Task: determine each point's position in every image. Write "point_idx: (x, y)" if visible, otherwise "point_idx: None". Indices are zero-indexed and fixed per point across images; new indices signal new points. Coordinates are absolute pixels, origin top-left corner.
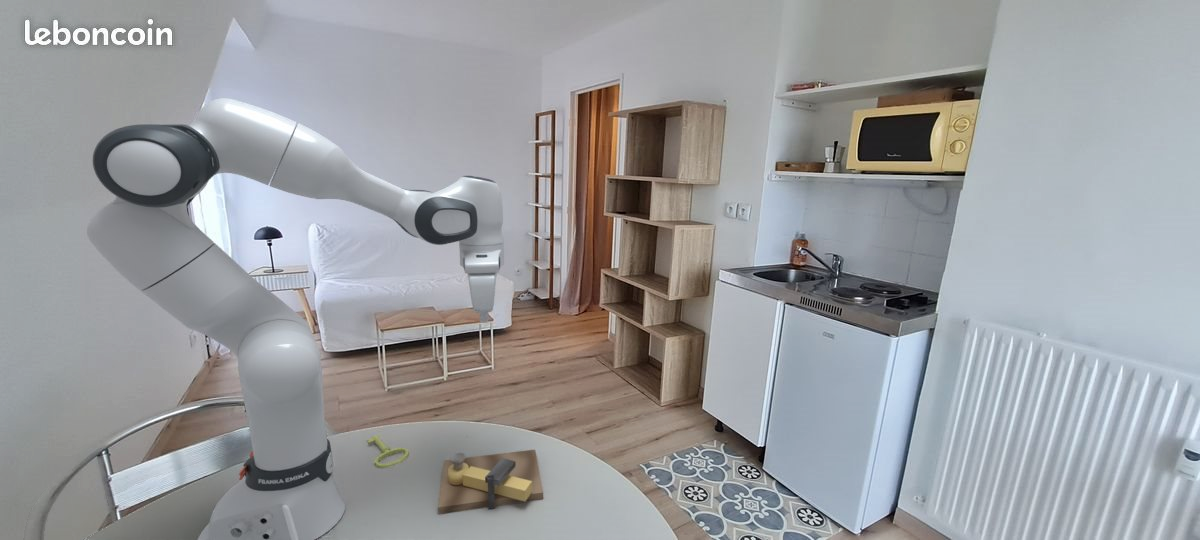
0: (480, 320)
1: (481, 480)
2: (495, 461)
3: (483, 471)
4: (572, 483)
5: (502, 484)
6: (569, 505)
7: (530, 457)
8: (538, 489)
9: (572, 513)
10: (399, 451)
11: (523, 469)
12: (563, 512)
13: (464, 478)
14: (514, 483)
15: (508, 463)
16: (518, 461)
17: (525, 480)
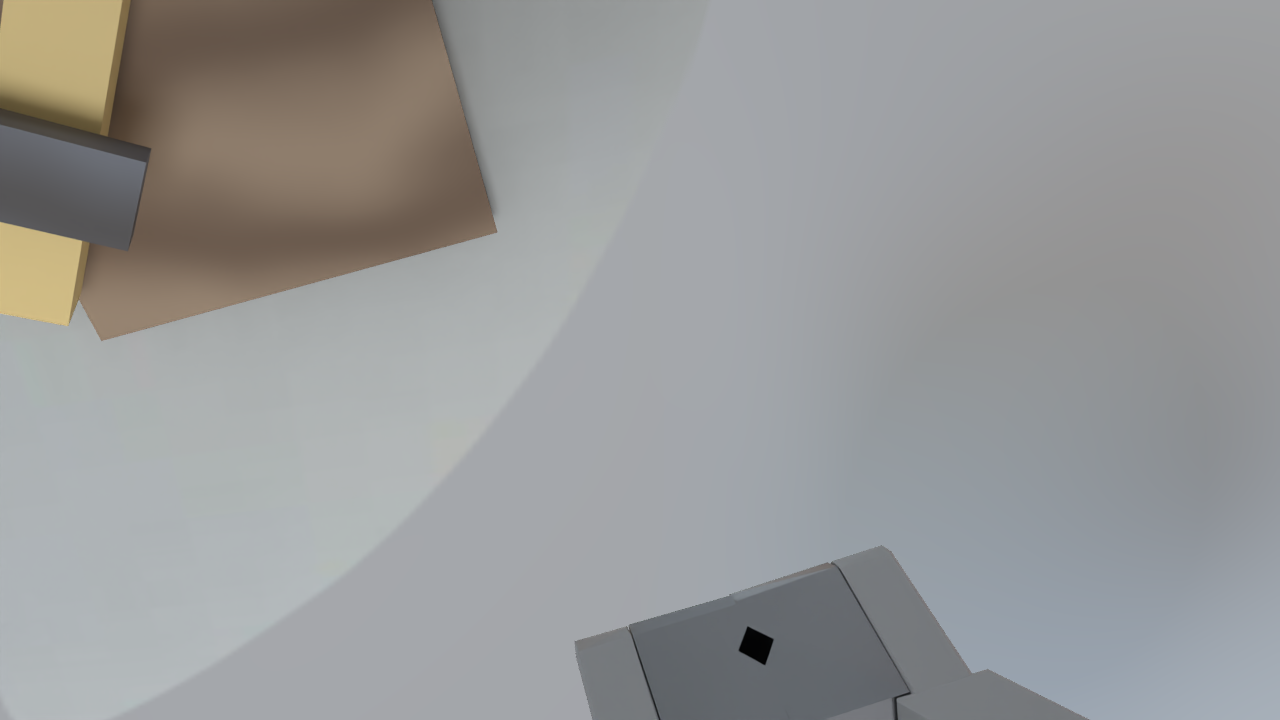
0: (585, 676)
1: (2, 20)
2: (349, 17)
3: (93, 15)
4: (263, 430)
5: None
6: (89, 440)
7: (413, 221)
8: (122, 314)
9: (34, 460)
10: None
11: (290, 204)
12: (30, 424)
13: None
14: (18, 236)
15: (92, 214)
16: (366, 160)
17: (66, 290)
